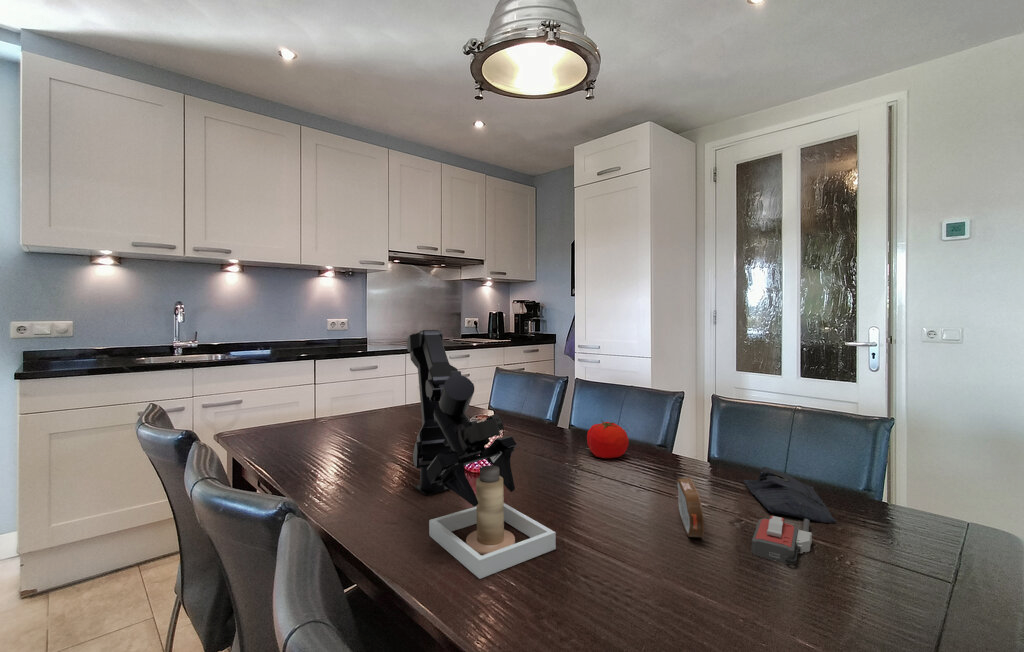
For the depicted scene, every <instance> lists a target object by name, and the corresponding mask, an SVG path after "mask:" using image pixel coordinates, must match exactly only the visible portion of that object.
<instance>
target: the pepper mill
mask: <svg viewBox="0 0 1024 652" xmlns="http://www.w3.org/2000/svg"><path fill="white" fill-rule="evenodd" d="M475 487H476V488H475V489H476V490H475V491H476V492H475V493H476V494H475V495H476V498H477V500H478V505H477V506H475V507H476V508H477V524H476V530H477V541H478V542H479V543H481V544H484V545H496V544H499V543H501V542H502V541H503V540H504V530H505V521H504V503H505V502H504V501H505V500H504V496H505V495H504V484H503V478H502V477H501V476H499V467H497V466H492V464H491V465H483V466H481V467H480V468H479V476H478V477H476V480H475Z"/></svg>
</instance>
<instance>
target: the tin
mask: <svg viewBox="0 0 1024 652" xmlns="http://www.w3.org/2000/svg"><path fill="white" fill-rule="evenodd" d="M676 487H677V494H678V495H677V496H678V497H677V505H678V511H679V515H680V519H681V522H682V525H683V528H684V531H685V533H686V535H687V537H688V538H699V539H700V538H701V539H704V537H705V536H704V534H705V522H704V515H703V514H704V513H703V506H702V501H701V497H700V494H699V492H698V490H697V488H696V486H695V484H694V481H693V479H692V478H691V477H689V478H678V479H677V480H676Z"/></svg>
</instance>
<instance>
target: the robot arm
mask: <svg viewBox="0 0 1024 652" xmlns="http://www.w3.org/2000/svg"><path fill="white" fill-rule="evenodd" d="M406 348H407V349H406V350H407V352H409V354H410V355H409V356H410V361H411V362H412V363H413V365H414V366H415V367H416V368H417V375H418V387H419V397H420V398H419V401H420V411H421V425H422V426H421V427H420V430H419V431H418V434H417V435H416V441H415V442H414V443H415V444H414V448H413V451H412V452H413V453H412V461H413V465H414V466H415V469H419V468H420V469H419V470H420V471H419V472H420V473H419V474H420V475H419V479H420V480H419V481H420V483H419V484H417V485H415V486H414V489H415V490H417V491H418V492H420V493H421V494H422V495H424V496H431V495H435V494H439V493H440V494H441V493H443V492H447V491H452V492H453V493H455V494H457V495H458V496H459V497H461V498H462V499H463V500H465V501H466V502H467V503H468V504H470V505H471V506H472V507H476V506H477V505H478V500H477V498H476V494H475V493H476V492H474V489H473V487H472V485H471V483H470V482H469V480H468V477H467V476H466V473H465V472H466V471H465V466H466V465H470V464H473V463H476V462H480V461H483V460H486V461H487V463H490V464H491V465H492V466H497V467H499V476H501V477H502V478H503V486H504V487H506V489H507V490H508V491H509V492H510V493H512V492H514V491H515V489H516V487H515V481H514V478H513V477H514V475H513V472H512V466H511V458H512V455H513V454H514V452H515V449H516V448H517V446H518V444H517V442H516V440H514V438H513V436H510V435H504V436H502V437H498V436H500V435H501V432H500V431H502V430H504V427H505V425H504V423H503V419H501V417H500V416H499V414H491V415H490V416H487V417H486V420H482V421H479V422H478V421H475V420H472V421H471V420H470V419H469V417H468V414H466V412H467V411H468V410H469V407H470V404H471V402H472V398H473V396H474V393H475V385H474V383H473V381H471V380H470V378H468V377H466V376H464V375H462V371H460V370H458V368H457V367H455V366H453V365H452V364H451V363H450V361H449V358H448V356H447V353H446V349H445V346H444V334H443V333H442V331H441V330H439V329H422V330H420V331H418V332H417V333H411V334H410V335H409V336H408V337H407V340H406ZM493 437H497V438H495V439H494V440H493V442H492V443H491V444H490V445H488V444H489V443H490V441H491V440H490V439H491V438H493ZM486 445H488V447H485V446H486Z"/></svg>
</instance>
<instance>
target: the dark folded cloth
mask: <svg viewBox="0 0 1024 652" xmlns="http://www.w3.org/2000/svg"><path fill="white" fill-rule="evenodd" d="M742 482H743V483H744V485H746V487H747V489H748V491H750V493H751V494H752V496H754V495H755V498H756V499H757V500H758V501H759V503H761V504H762V505H763V507H764V508H765V509H766V510H768V511H769V512H770V513H772V514H774V513H775V514H776V515H782V516H783V515H784V516H787V517H788V516H790V517H795V518H798V519H803V520H804V519H808V520H809V521H812V522H818V523H823V524H837V521H836V519H835V518H834V517H833V516H832V513H831V512H830V510H829V509H828V506H827V505H826V504H825V502H823V499H822V498H821V497H820V496H819V494H818V493H817V491H816V490H815V489H814V488H813V486H811V485H809V484H807V483H806V484H805V483H804V482H801V481H799V480H797V479H795V478H794V477H792V476H790V475H789V474H787V473H785V472H781V471H779V470H775V469H772V468H770V467H768V466H764V467H762V469H761V472H759V475H758V479H743V481H742Z"/></svg>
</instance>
